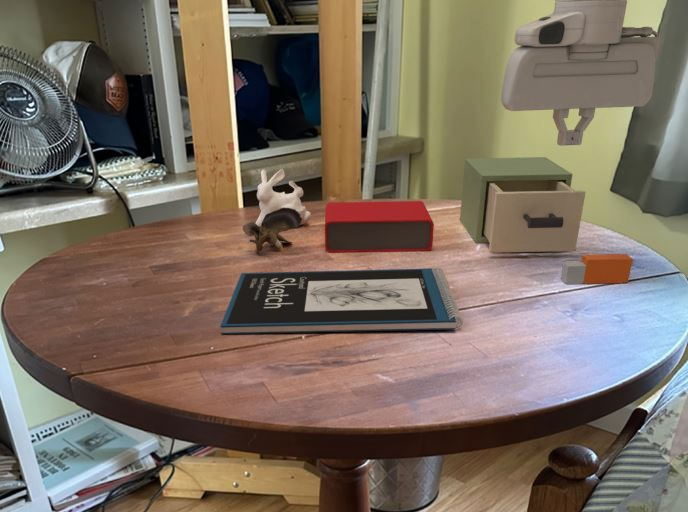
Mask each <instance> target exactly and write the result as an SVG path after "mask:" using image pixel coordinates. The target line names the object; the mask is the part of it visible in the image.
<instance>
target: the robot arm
mask: <svg viewBox="0 0 688 512" xmlns="http://www.w3.org/2000/svg"><path fill="white" fill-rule="evenodd" d="M627 5H628V0H554V9H553V11H552V13H551V14H548V15H546V16H543V17H540V18H538V19H535V20H533V21H530V22H528V23H525V24H521V25H520V26H518V27H517V28H516V29H515V32H514V42H515V45H517V47H516V48H515V49H514V50H512V52H511V53H510V55H509V57H508V60H507V62H506V66H505V70H504V75H503V80H502V86H501V87H502V88H501V94H500V95H501V96H500V102H501V105H502V106H503V107H504V109H506V110H508V111H511V112H525V111H528V112H529V111H550V110H552V111H553V112H552V119H553V122H554V124H555V127H556V129H557V132H558V133H557V138H556V139H557V140H556V143H557V146H560V147H561V146H581V145H582V143H583V136H584V132H586V129H588V127H589V125H590V124H591V122H592V121H593V119H594V118H595V113H596V109H606V108H607V109H608V108H609V109H610V108H632V107H633V108H635V107H636V108H638V107H645V106H646V105H647V104H648V103H649V101H650V100H651V99H652V96H653V91H654V84H655V77H656V76H655V75H656V61H657V58H658V56H659V52H660V48H661V47H660V46H661V37H660V35H659V33H658V32H657V31H655V30H654V28H653V26H652V27H651V26H642V27H634V26H624V21H625V17H626V11H627ZM652 35H653V36H652ZM570 110H578V115H577V116H578V117H580V119H579V121H578V122H577V124H576V125H575V127H574V129H568V127H567V124H566V121H565V119H569V114H570Z"/></svg>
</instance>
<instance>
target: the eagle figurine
mask: <svg viewBox="0 0 688 512" xmlns="http://www.w3.org/2000/svg"><path fill="white" fill-rule="evenodd" d="M301 220H302V218H301V217H300V214H299V213H298V211H296V210H295V209H290V208H285V207H284V208H281V209H279V210H276V211H273V212H272V213H268V214H266V215H265V217H264V219H263V221H262V223H261V224H262V225H261V227H260V226H258V225H257V224H255V223H256V222H254V221H253V220H249V221H246V222H245V223H244V224H243V225H242V226H241V227H242V232H244V234H245V236H248V237H253V236H254V239H249V243H254V244H255V248H256V249H255V254H256V255H258V254H260V252H261V251H262V250H263V246H264V244H265V243H268V244H270V245H272V246H275V247H276V248H277V249H279V250H280V251H281V252H282V251H283V252H284V248H283V247H284V246H283V244H282V243H281V242H283V243H287V244H293V241H289V240H287V239H285V237H283V236H282V235H281V234H279V233H283V232H287V231H289V230H294V229H297V228H299V227H300V226H301V225H299V224H300V223H301Z"/></svg>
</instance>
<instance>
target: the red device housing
mask: <svg viewBox="0 0 688 512" xmlns="http://www.w3.org/2000/svg"><path fill="white" fill-rule="evenodd" d="M324 213H325V214H324V216H325V217H324V249H325V251H326V252H327V253H379V252H380V253H383V252H387V253H389V252H429V251H430V250H432V248H433V246H434V245H433V244H434V243H433V242H434V231H435V230H434V229H435V224H434V220H433V219H432V217H431V215H430V213H429V211H428V209H427V207H426V205H425V203H424V202H423V201H422V200H405V201H404V200H403V201H402V200H401V201H395V200H394V201H343V202H341V201H339V202H338V201H337V202H327V203H326V205H325V212H324Z"/></svg>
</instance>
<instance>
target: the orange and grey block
mask: <svg viewBox="0 0 688 512" xmlns="http://www.w3.org/2000/svg"><path fill="white" fill-rule="evenodd" d="M633 261H634V259H633V257H631V256H630V255H629V254H627V253H605V254H604V253H602V254H599V253H598V254H596V253H595V254H582V255H581V260H572V261H571V260H569V261H568V260H567V261H565V260H564V261H563V263H562V268H561V269H562V271H561V275H560V280H561V281H562V282H563V284H564V285H598V284H599V285H603V284H605V285H607V284H608V285H609V284H626V283H625V282H628V283H629V280H630V274H631V271H632V266H633ZM623 282H624V283H623Z"/></svg>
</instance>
